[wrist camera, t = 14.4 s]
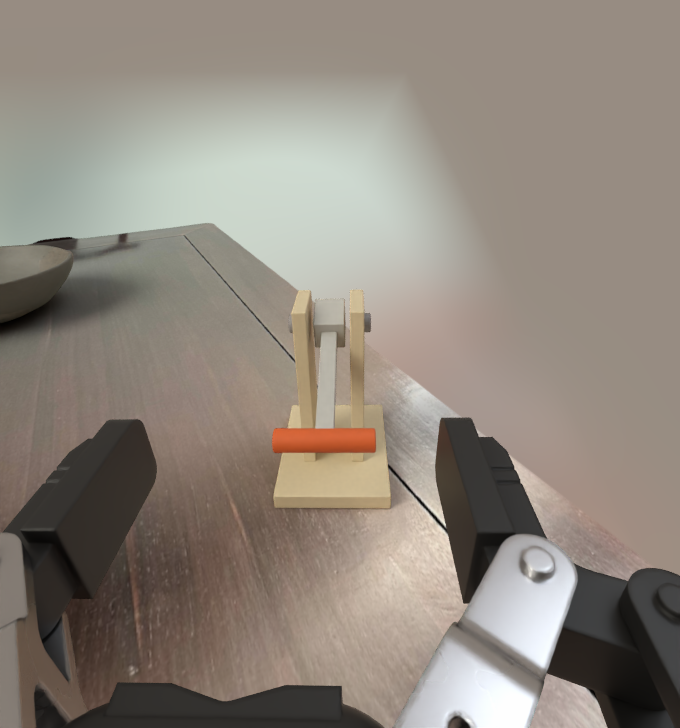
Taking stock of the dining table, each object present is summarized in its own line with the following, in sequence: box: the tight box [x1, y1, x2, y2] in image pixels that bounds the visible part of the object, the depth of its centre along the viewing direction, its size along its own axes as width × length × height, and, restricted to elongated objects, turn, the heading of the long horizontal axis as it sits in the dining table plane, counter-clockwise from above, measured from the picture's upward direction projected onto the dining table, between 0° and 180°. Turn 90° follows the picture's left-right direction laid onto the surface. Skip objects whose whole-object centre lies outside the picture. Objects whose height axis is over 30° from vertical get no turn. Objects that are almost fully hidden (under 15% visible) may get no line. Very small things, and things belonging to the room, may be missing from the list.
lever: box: [272, 299, 376, 453], centre depth 29 cm, size 12×6×2 cm, turn 179°
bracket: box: [273, 290, 391, 508], centre depth 35 cm, size 12×9×15 cm
